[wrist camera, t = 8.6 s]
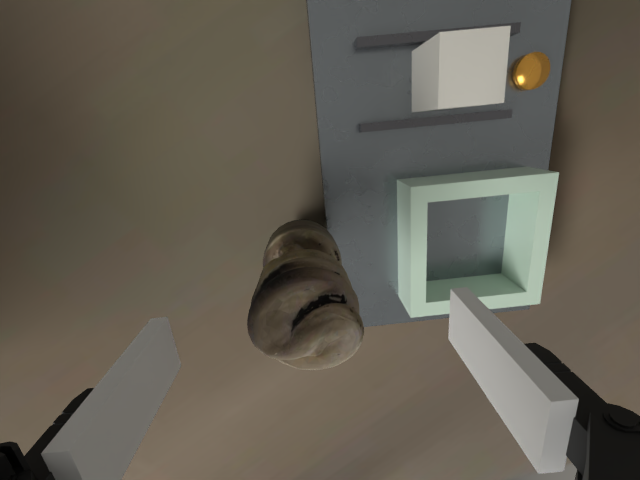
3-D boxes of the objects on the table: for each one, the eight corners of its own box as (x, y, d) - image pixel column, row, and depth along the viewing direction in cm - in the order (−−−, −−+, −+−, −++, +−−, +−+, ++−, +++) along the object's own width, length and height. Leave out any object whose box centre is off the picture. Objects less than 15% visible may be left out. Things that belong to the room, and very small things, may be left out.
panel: (334, 322, 31) (337, 336, 29) (296, -113, 21) (295, -140, 19) (521, 302, 32) (536, 314, 30) (576, -137, 21) (606, -165, 19)
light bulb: (349, 228, 28) (396, 331, 14) (311, 276, 30) (320, 414, 15) (295, 190, 27) (287, 261, 13) (258, 241, 28) (214, 357, 14)
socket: (398, 296, 29) (410, 317, 26) (396, 179, 26) (410, 187, 23) (513, 284, 30) (539, 303, 26) (526, 166, 26) (559, 172, 23)
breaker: (411, 112, 24) (438, 109, 20) (411, 51, 23) (440, 31, 18) (464, 107, 24) (504, 102, 20) (468, 46, 23) (510, 25, 18)
